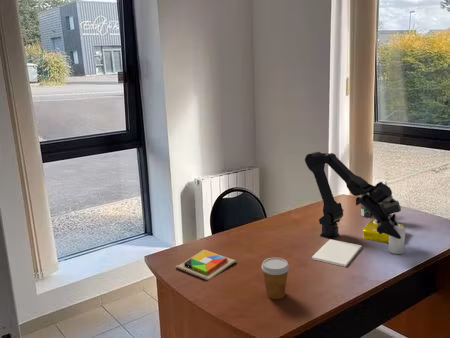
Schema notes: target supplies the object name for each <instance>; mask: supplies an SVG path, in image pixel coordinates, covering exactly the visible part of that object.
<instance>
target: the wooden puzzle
mask: <svg viewBox="0 0 450 338" xmlns="http://www.w3.org/2000/svg"><path fill="white" fill-rule="evenodd" d="M234 263H237V260H236V259H234V258H233V259H232V258H229V257H227V256H223V255H220V254H217V253H215V252H212V251H210V250H207V249H202V250H200V251H199V252H198V253H196V254H194V255H193V256H191V257H189V258H188V259H186V260H185V261H184V262H182V263H180V264H179V265H178V264H177V265H175V268H176V269H179V270H180V271H184V272H186V273H189V274H191V275H193V276H196V277H198V278H201V279H204V280H205V281H209V280H211V279H212V278H214V277H215V276H217V275H218V274H220V273H221V272H223V271H224V270H226V269H227V268H228V267H230V266H231V265H233V264H234ZM188 266H189V267H188ZM178 267H179V268H178ZM180 268H181V269H180ZM193 268H194V269H193ZM183 269H184V270H183ZM185 270H186V271H185ZM198 270H199V271H198Z"/></svg>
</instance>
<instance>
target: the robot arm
mask: <svg viewBox="0 0 450 338" xmlns="http://www.w3.org/2000/svg"><path fill="white" fill-rule="evenodd" d="M304 162H305V165H306V167H307V168H308V170H309V171H310V172H311V173H312V174H313V176H314V178H315V182H316V185H317V188H318V191H319V194H320V196H321V200H322V202H323V207H322V213H323V216H321V217H320V218H319V219H318V221H319V224H320V225H321V233H320V234H319V236H320V237H323V238H327V239H329V240H330V239H331V240H334V239H335V238H336V237H338V236H340V233H339V226H338V225H339V224H338V223H339V222H340V221H341V220H342V218H343V216H344V209H343V206H342V203H341V202H337V201H336V200H335V197H334V195H333V192H332V189H331V186H330V183H329V180H328V178H327V175H326V171H325V166H326V164H327V165H328V166H329V167H330V169H332V171H334V173H336V174H337V176H339V177H340V178H341V180H343V181H344V183H345V184H346V188H347V189H348V191H349V193H350V194H351V195H352V196H354V197H356V199H355V206H357V207H358V206H359V205H360V206H361V205H362V206H363V207H364V208H365V209H366V210H367V211H368V212H369V213H370V214H369V215H370V216H369V217H373V218H374V220H377V223H378V226H377V232H378V233H379V234H382V233H385V234H388V235H390V236H393V237H395V238H398V239H400V238H401V236H400V235H399V233H398V232H397V230H396V229H395V228H394V226H399V225H398V224H399V223H398V222H397V220H396V213H400V212H401V209H402V207H401V205H400V202H399V201H398V200H396V199H395V198H393V199H390V203H388V204H387V205H384V204H383V203H381V202H382V201H384V200H385V199H387V198H388V197H390V196H391V195H392V196H393V191H392V188H391V187H389V185H387V184H386V185H385V183H384V182H383V181H380V182H378V183H376V184H375V185H373V184H370V183H369V182H368V181H367V180H365V179H364V178H363V177H361V176H359V175H356V174H354V173H353V172H352V170H350V169H349V168H348V166H346V165H345V164H344V163H343V162H342V161H341V160H340V159H339V158H338V157H337V155H336V153H334V152H330V153H329V152H326V153H325V152H324V153H323V152H320V151H315V152H311V153H308V154H306V156H305V158H304ZM367 193H369V194H367ZM364 194H365V195H364ZM361 195H363V196H362V197H361ZM380 222H381V223H380ZM379 223H380V224H379Z"/></svg>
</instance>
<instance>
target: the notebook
mask: <svg viewBox="0 0 450 338" xmlns="http://www.w3.org/2000/svg"><path fill="white" fill-rule="evenodd" d="M361 249H362V245H360V244H357V243H350V242H346V241H341V240H335V239H329V240H327V241H326V242H325V243H324V245H322V246H321V247H320V248H319V249H318V250H317V251H316V252H315V253H314V255H312V256H311V259H312V260H314V261H317V262H321V263H322V262H323V263H326V264H332V265H336V266H340V267H345V268H346V267H348V265H349V263H350V262H351V261H352V260H353V259H354V258H355V256H356V255H357V254H358V253H359V251H360V250H361Z"/></svg>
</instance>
